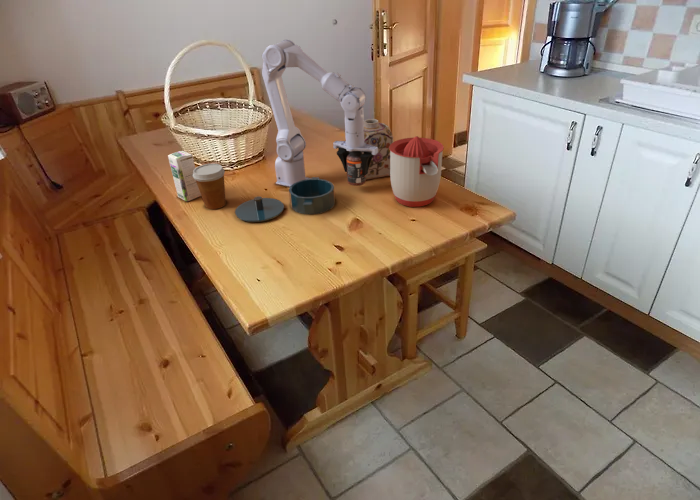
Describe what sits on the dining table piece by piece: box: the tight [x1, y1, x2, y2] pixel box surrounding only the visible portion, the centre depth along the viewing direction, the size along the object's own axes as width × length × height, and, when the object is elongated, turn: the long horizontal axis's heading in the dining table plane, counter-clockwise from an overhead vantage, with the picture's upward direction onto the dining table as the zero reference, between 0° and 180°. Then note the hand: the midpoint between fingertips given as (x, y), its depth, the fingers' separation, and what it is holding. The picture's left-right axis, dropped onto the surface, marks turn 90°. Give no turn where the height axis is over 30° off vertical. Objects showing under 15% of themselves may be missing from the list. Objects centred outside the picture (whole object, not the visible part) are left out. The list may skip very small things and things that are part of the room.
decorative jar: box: [362, 118, 394, 180], centre depth 160 cm, size 12×12×18 cm
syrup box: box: [167, 150, 202, 202], centre depth 150 cm, size 6×6×14 cm
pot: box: [288, 176, 336, 215], centre depth 145 cm, size 14×19×5 cm
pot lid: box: [234, 195, 285, 223], centre depth 142 cm, size 15×15×5 cm
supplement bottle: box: [346, 151, 366, 186], centre depth 148 cm, size 6×6×11 cm
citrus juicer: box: [389, 135, 445, 208], centre depth 140 cm, size 16×17×20 cm
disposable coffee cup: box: [192, 163, 227, 210], centre depth 145 cm, size 10×10×12 cm
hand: (356, 172), depth 150 cm, fingers closed on supplement bottle, 6 cm apart
